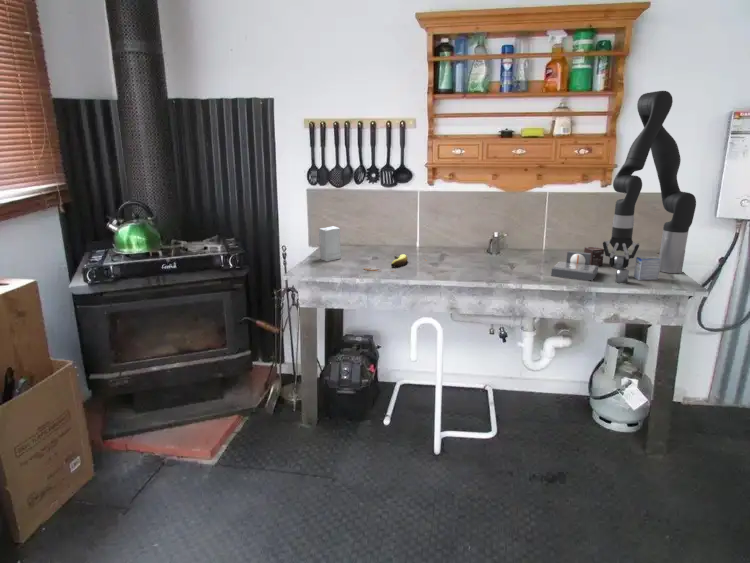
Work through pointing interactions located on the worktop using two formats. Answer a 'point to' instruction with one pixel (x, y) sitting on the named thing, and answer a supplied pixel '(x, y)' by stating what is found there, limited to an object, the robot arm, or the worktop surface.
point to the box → (595, 255)
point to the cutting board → (395, 262)
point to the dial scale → (576, 267)
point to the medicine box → (647, 268)
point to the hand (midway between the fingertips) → (618, 266)
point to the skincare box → (329, 243)
